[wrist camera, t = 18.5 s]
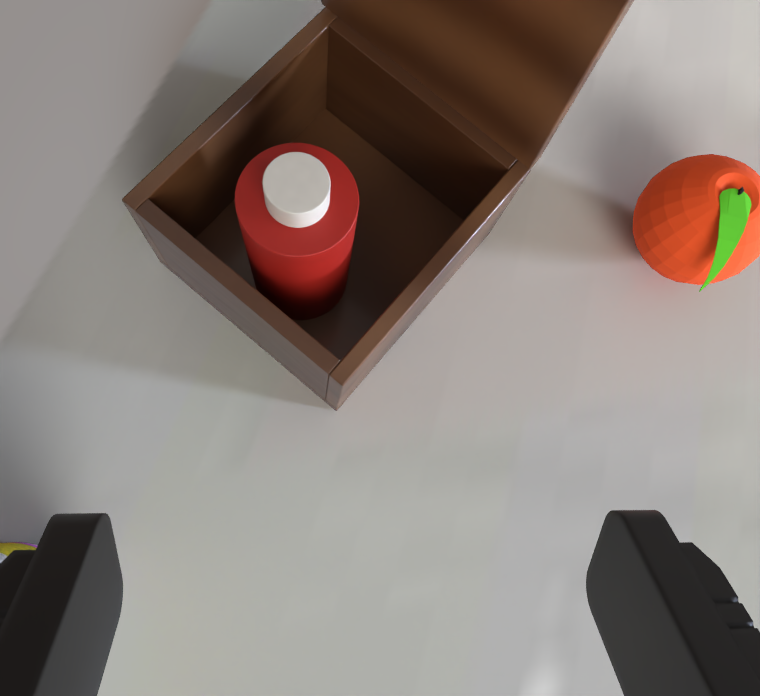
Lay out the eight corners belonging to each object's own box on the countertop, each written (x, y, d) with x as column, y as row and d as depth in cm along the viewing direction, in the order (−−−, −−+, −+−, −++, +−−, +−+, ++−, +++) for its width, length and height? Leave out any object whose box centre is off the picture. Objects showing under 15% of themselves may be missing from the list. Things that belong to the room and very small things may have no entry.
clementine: (714, 330, 39) (800, 294, 32) (599, 299, 39) (662, 256, 32) (729, 207, 41) (814, 147, 34) (620, 177, 41) (684, 111, 34)
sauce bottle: (305, 339, 36) (302, 269, 25) (234, 279, 36) (202, 185, 25) (365, 272, 37) (387, 178, 26) (296, 215, 37) (290, 99, 27)
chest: (336, 411, 36) (342, 386, 28) (160, 261, 37) (120, 199, 29) (489, 233, 39) (532, 168, 31) (323, 99, 40) (326, 4, 32)
